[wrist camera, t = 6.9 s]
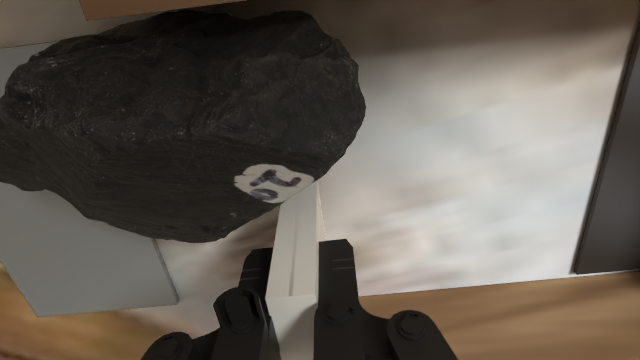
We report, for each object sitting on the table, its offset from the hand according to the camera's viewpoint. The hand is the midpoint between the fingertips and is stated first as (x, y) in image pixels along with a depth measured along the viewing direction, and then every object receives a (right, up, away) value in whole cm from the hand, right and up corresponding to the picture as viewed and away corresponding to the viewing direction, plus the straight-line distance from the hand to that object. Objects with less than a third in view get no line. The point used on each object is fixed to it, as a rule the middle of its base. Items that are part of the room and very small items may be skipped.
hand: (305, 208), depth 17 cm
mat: (-12, 0, +2) cm, 12 cm away
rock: (-8, +7, -2) cm, 11 cm away
